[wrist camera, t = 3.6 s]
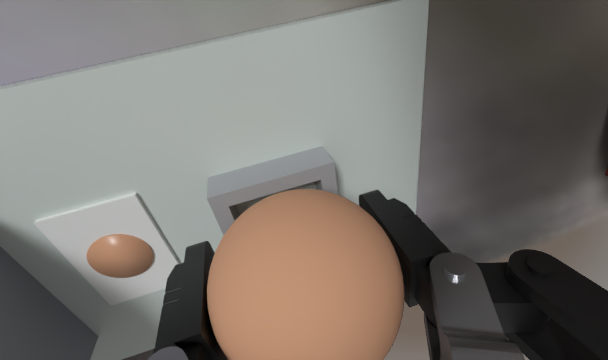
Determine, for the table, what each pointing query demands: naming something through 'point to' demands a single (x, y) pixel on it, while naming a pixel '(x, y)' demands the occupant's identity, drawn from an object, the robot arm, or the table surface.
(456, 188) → the table surface
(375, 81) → the ball rack
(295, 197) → the ball
